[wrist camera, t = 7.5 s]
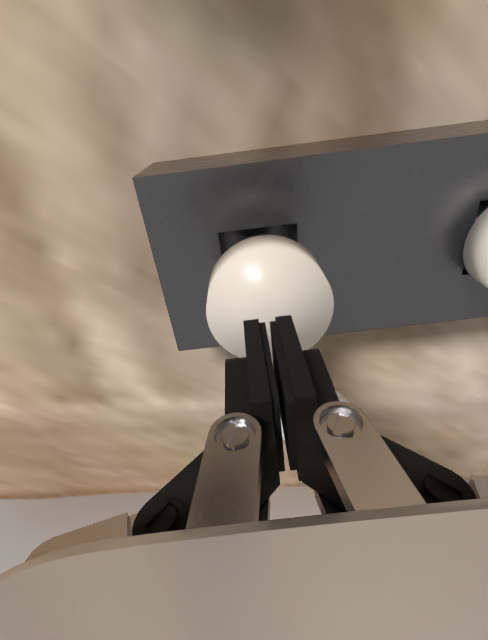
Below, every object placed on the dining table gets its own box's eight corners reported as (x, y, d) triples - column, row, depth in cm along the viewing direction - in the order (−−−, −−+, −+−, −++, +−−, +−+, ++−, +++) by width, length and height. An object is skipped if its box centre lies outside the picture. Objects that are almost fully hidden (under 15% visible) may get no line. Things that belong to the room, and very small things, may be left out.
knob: (304, 203, 18) (335, 243, 12) (306, 292, 20) (332, 356, 15) (205, 215, 18) (195, 260, 13) (220, 302, 21) (216, 368, 15)
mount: (573, 109, 19) (671, 109, 15) (517, 271, 24) (578, 306, 20) (153, 163, 20) (132, 177, 16) (187, 309, 25) (178, 350, 21)
